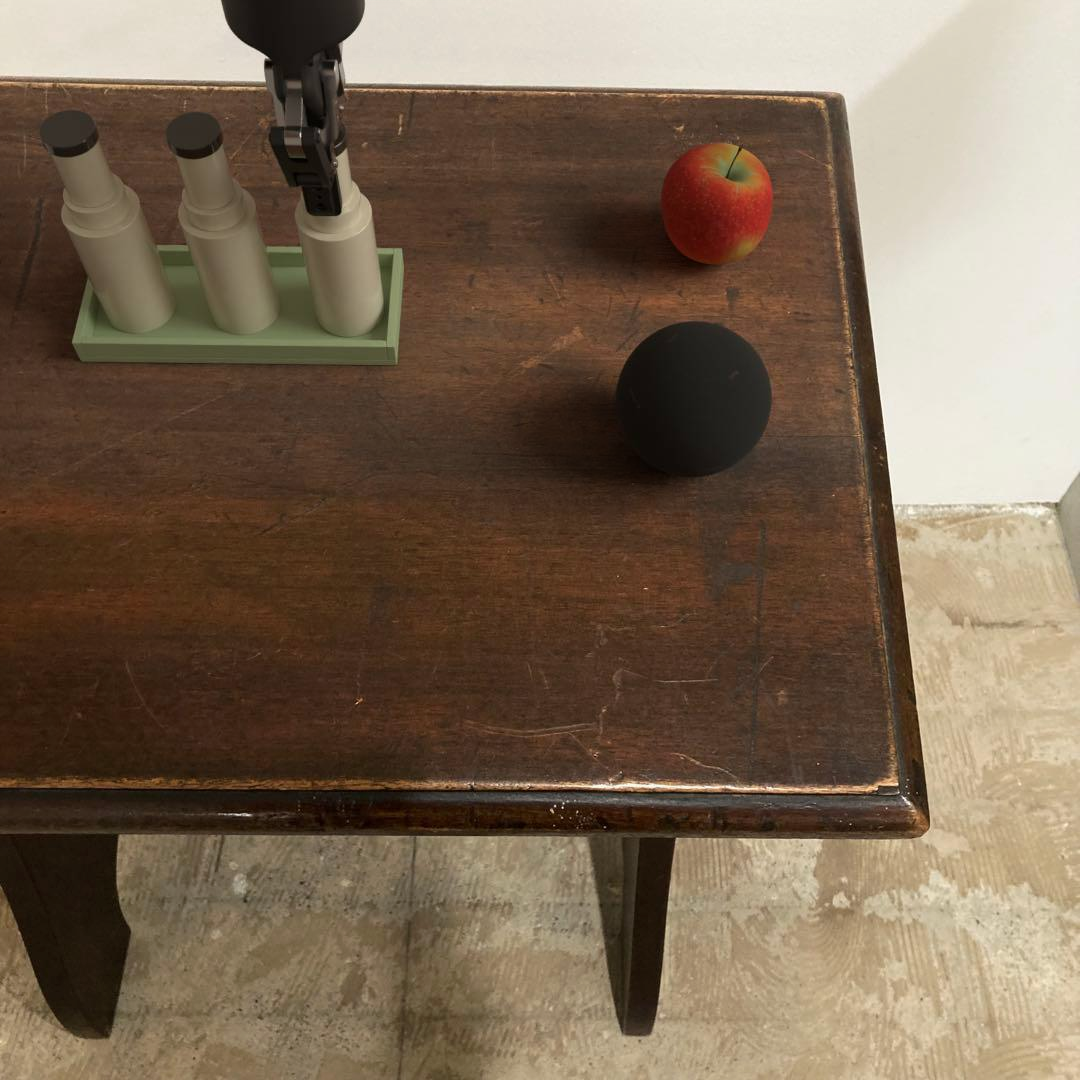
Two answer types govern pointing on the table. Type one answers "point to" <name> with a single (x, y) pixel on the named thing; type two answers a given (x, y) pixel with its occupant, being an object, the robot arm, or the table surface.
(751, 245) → the apple
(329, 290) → the bottle
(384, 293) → the tray
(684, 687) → the table surface
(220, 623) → the table surface
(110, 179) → the bottle
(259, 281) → the bottle
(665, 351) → the black ball
